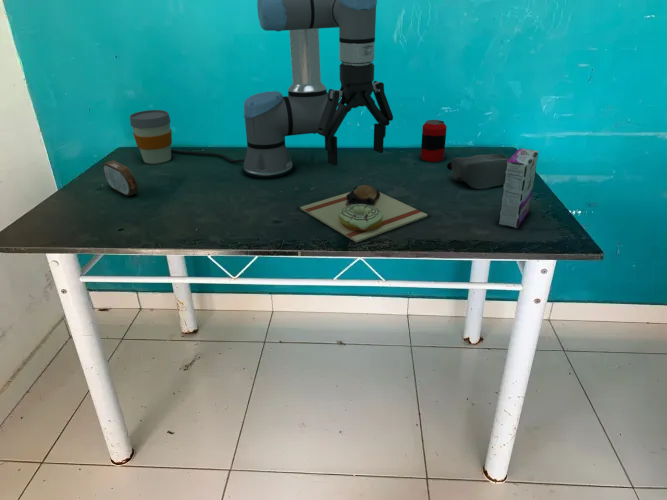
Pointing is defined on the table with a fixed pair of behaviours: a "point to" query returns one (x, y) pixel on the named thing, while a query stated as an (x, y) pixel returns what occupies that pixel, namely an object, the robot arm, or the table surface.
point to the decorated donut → (360, 217)
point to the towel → (390, 208)
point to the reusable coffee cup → (152, 135)
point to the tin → (120, 178)
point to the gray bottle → (479, 170)
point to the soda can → (433, 140)
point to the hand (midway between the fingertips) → (356, 157)
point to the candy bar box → (518, 187)
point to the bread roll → (363, 196)
